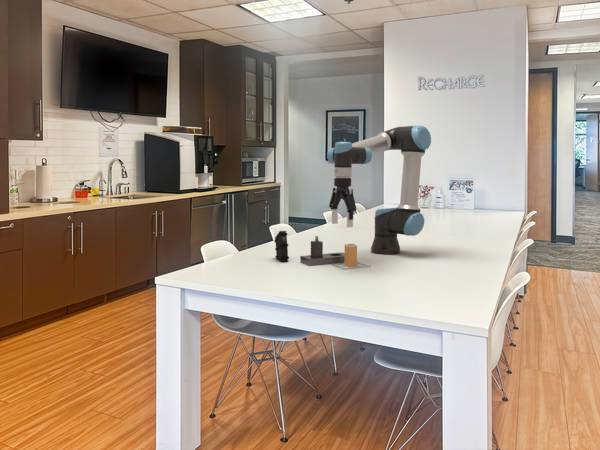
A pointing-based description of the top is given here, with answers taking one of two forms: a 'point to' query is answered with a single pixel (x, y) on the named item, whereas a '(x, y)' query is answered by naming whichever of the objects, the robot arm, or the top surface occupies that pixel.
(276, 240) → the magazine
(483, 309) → the top surface
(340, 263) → the tray
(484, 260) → the top surface
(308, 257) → the slotted metal block
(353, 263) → the plug
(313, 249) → the twin plug
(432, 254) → the top surface
